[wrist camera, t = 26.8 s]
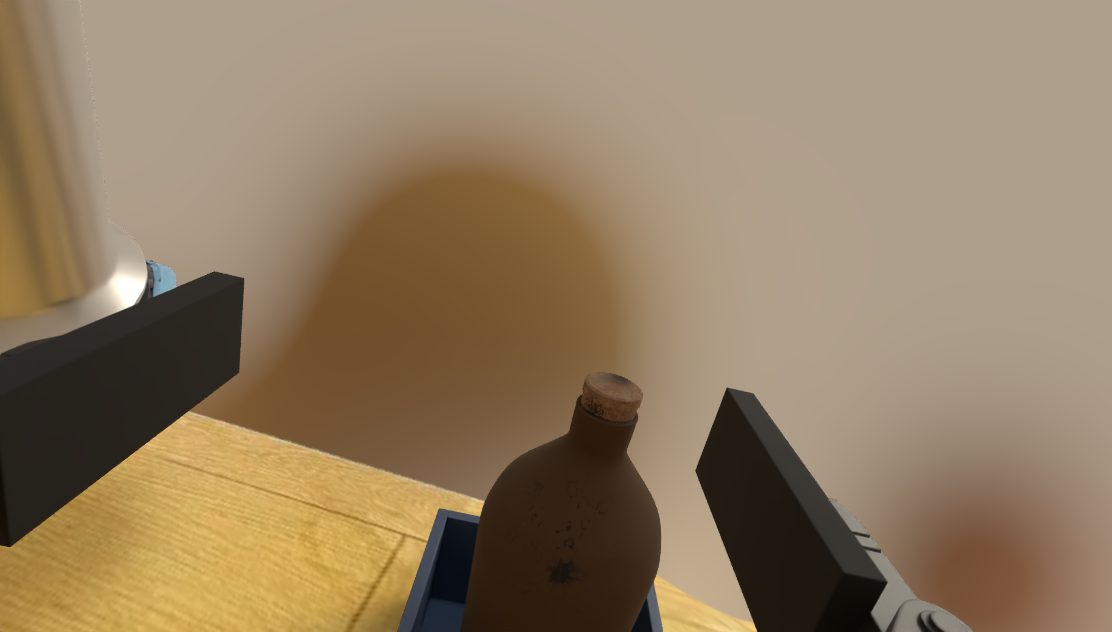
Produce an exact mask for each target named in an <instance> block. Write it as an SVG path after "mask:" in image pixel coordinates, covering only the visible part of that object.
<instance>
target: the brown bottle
mask: <svg viewBox="0 0 1112 632" xmlns="http://www.w3.org/2000/svg"><path fill="white" fill-rule="evenodd" d="M642 398H643V393H642V391H641V389H640V388H639V387H638V386H637V385H636V384H634V383H633V382H631V381H630V380H628V379H626V378H624V377H621V376H618V375H615V374H611V373H603V372H601V373H600V372H599V373H592V374H589V375H588V376H587V377H586V378H585V382H584V385H583V394H582V395H580V396H579V397H578V399H577V401H576V406H575V410H574V414H573V418H572V422H571V426H570V431H569V432H568V433H567V434H566V435H564V436H562V437H560V438H557V439H555V440H553V441H550V442H548V443H546V444H544V445H541V446H539V447H537V448H534V449H532V450H530V451H528V452H527V453H524V454H523V455H521V456H520V457H518V458H517V459H516V460H514V461H513V462H512V463H511V464H510V465H508V466H507V468H506V469H505V470H504V471H503V472H502V474H501V475H500V476H499V478H498V479H497V481H496V482H495V484H494V485H493V487H492V489H491V490H490V492H489V494H488V496H487V498H486V500H485V503H484V505H483V508H482V512H481V516H480V520H479V526H478V532H477V538H476V544H475V550H474V556H473V562H472V568H471V574H470V580H469V586H468V591H467V597H466V602H465V608H464V614H463V619H462V625H461V631H460V632H631V630H632V628H633V626H634V624H635V621H636V619H637V617H638V615H639V613H640V611H641V608H642V606H643V604H644V602H645V600H646V598H647V596H648V593H649V591H650V589H651V587H652V584H653V582H654V580H655V577H656V574H657V570H658V567H659V561H660V553H661V526H660V519H659V514H658V510H657V507H656V505H655V502H654V500H653V498H652V496H651V494H650V492H649V490H648V488H647V487H646V485H645V483H644V481H643V480H642V478H641V477H640V475H639V473H638V472H637V470H636V468H635V467H634V465H633V464H632V462H631V460H630V458H629V456H628V454H627V448H628V445H629V443H630V440H631V437H632V435H633V432H634V429H635V426H636V423H637V421H638V414H637V412H636V411H637V409H638V408H639V407H640V403H641V401H642Z"/></svg>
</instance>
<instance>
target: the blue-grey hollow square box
mask: <svg viewBox="0 0 1112 632" xmlns="http://www.w3.org/2000/svg"><path fill="white" fill-rule="evenodd" d="M479 520H480V517H479V516H474V515H469V514H465V513H460V512H455V511H449V510H445V509H441V508H439V510H438V513H437V516H436V518H435V521H434V524H433V527H432V530H431V533H430V536H429V539H428V542H427V545H426V548H425V551H424V554H423V557H422V560H421V563H420V566H419V569H418V572H417V575H416V578H415V581H414V584H413V587H412V590H411V592H410V595H409V598H408V601H407V604H406V607H405V610H404V613H403V616H402V619H401V622H400V625H399V628H398V631H397V632H460V631H461V625H462V619H463V614H464V608H465V602H466V597H467V591H468V586H469V580H470V574H471V568H472V562H473V556H474V550H475V544H476V538H477V532H478V526H479ZM631 632H663V628H662V623H661V618H660V613H659V607H658V602H657V597H656V592H655V586H654V582H653V584H652V587H651V589H650V591H649V593H648V596H647V598H646V600H645V602H644V604H643V606H642V608H641V611H640V613H639V615H638V617H637V619H636V621H635V624H634V626H633V628H632V630H631Z"/></svg>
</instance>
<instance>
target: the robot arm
mask: <svg viewBox="0 0 1112 632" xmlns="http://www.w3.org/2000/svg"><path fill="white" fill-rule="evenodd" d="M243 293H244V278H241V277H236V276H232V275H228V274H223V273H219V272H212V273H210V274H207V275H205V276H202V277H200V278H198V279H195V280H193V281H191V282H188V283H186V284H183V285H181V286H178V287H176V276H175V273H174V271H172V269H170V268H169V267H168V266H165V265H160V264H156V263H155V262H153V261H145V258H144V255H143V251H142V250H141V248H140V246H139V245H138V243H137V242H136V241H135V239H134V238H133V237H132V236H131V235H130V234H129V233H128V232H127V231H125V230H124V229H123V228H122V227H121V226H119V225H118V224H116V223H115V222H113V221H112V220H110V218H109V210H108V204H107V195H106V188H105V180H104V174H103V166H102V158H101V151H100V143H99V137H98V130H97V121H96V114H95V107H94V99H93V92H92V85H91V77H90V70H89V62H88V55H87V48H86V41H85V33H84V25H83V18H82V11H81V3H80V0H0V545H2V546H7V547H11V546H12V545H13V544H15V543H16V542H17V541H19V540H20V539H21V538H23V537H24V536H25V535H26V534H28V533H29V532H30V531H32V530H33V529H34V528H36V527H37V526H38V525H40V524H41V523H42V522H44V521H45V520H46V519H47V518H49V517H50V516H51V515H53V514H54V513H55V512H57V511H58V510H59V509H61V508H62V507H63V506H65V505H66V504H67V503H68V502H70V501H71V500H72V499H74V498H75V497H76V496H78V495H79V494H80V493H82V492H83V491H84V490H86V489H87V488H88V487H89V486H91V485H92V484H93V483H95V482H96V481H97V480H99V479H100V478H101V477H103V476H104V475H105V474H107V473H108V472H109V471H110V470H112V469H113V468H114V467H116V466H117V465H118V464H120V463H121V462H122V461H124V460H125V459H126V458H128V457H129V456H130V455H131V454H133V453H134V452H135V451H137V450H138V449H139V448H141V447H142V446H143V445H145V444H146V443H147V442H149V441H150V440H151V439H153V438H154V437H155V436H156V435H158V434H159V433H160V432H162V431H163V430H164V429H166V428H167V427H168V426H170V425H171V424H172V423H174V422H175V421H176V420H177V419H179V418H180V417H181V416H183V415H184V414H185V413H187V412H188V411H189V410H190V409H192V408H193V407H195V406H196V405H197V404H198V403H200V402H201V401H202V400H204V399H205V398H206V397H208V396H209V395H210V394H212V393H213V392H214V391H215V390H217V389H218V388H219V387H221V386H222V385H223V384H225V383H226V382H227V381H229V380H230V379H231V378H232V377H234V376H235V375H236V374H238V373H239V364H240V347H241V329H242V310H243ZM696 474H697V476H698V479H699V481H700V484H701V487H702V489H703V492H704V494H705V497H706V500H707V502H708V505H709V507H710V510H711V512H712V515H713V518H714V520H715V523H716V526H717V528H718V531H719V533H720V536H721V539H722V541H723V544H724V546H725V549H726V552H727V554H728V557H729V559H730V562H731V565H732V567H733V570H734V572H735V574H736V577H737V580H738V582H739V585H740V588H741V590H742V593H743V596H744V598H745V601H746V603H747V606H748V608H749V611H750V613H751V616H752V619H753V621H754V624H755V627H756V629H757V632H973V631H972V630H971V629H970V628H969V627H968V626H967V625H966V624H965V623H963V622H962V621H961V620H959V619H958V618H956V617H955V616H954V615H952V614H951V613H949V612H948V611H946V610H944V609H942V608H940V607H938V606H936V605H934V604H932V603H929V602H925V601H922V600H918V598H917V597H916V596H915V595H914V593H913V592H912V590H911V589H910V588H909V586H908V585H907V584H906V582H905V581H904V580H903V578H902V577H901V576H900V575H899V573H898V572H897V570H896V569H895V568H894V566H893V565H892V564H891V562H890V561H889V560H888V559H887V557H886V556H885V555H884V554H882V553H881V549H880V548H879V547H878V545H877V544H876V543H875V541H874V540H873V539H872V538H870V535H869V533H868V532H867V531H866V529H865V528H864V527H863V526H862V524H861V523H860V522H859V520H858V519H857V518H856V517H855V516H854V515H853V514H852V513H851V512H850V511H848V510H847V509H846V508H845V507H844V506H843V505H841V504H840V503H839V502H838V501H837V500H834V499H829V498H828V497H827V496H826V495H825V493H824V492H823V490H822V489H821V488H820V486H819V485H818V484H817V482H816V481H815V479H814V478H813V476H812V475H811V474H810V472H809V471H808V469H807V468H806V467H805V465H804V464H803V463H802V461H801V460H800V458H799V457H798V455H797V454H796V453H795V451H794V450H793V448H792V447H791V446H790V444H789V443H788V441H787V440H786V439H785V437H784V436H783V434H782V433H781V432H780V430H779V429H778V427H777V426H776V425H775V423H774V422H773V420H772V419H771V418H770V416H769V415H768V413H767V412H766V411H765V410H764V408H763V406H762V405H761V404H760V402H759V401H758V399H757V398H756V397H755V395H754V394H753V393H749V392H744V391H740V390H735V389H731V388H727V389H726V391H725V394H724V396H723V399H722V402H721V404H720V407H719V410H718V412H717V415H716V418H715V420H714V423H713V425H712V428H711V431H710V434H709V436H708V439H707V441H706V444H705V447H704V449H703V452H702V455H701V457H700V460H699V462H698V465H697V468H696Z"/></svg>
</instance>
